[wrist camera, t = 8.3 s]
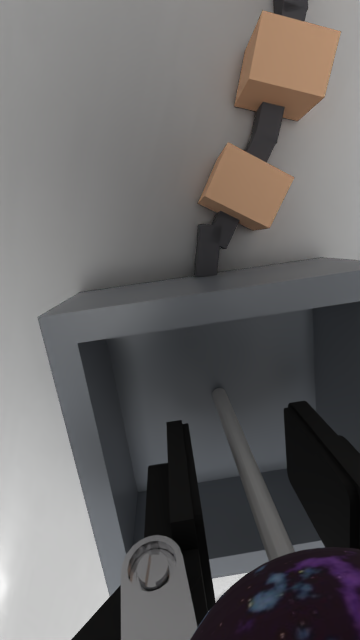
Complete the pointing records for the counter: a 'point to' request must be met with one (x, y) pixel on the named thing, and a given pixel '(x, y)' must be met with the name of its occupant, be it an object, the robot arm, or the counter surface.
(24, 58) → the counter surface
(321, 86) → the cable run
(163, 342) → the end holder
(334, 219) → the counter surface
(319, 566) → the lollipop
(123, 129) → the counter surface
